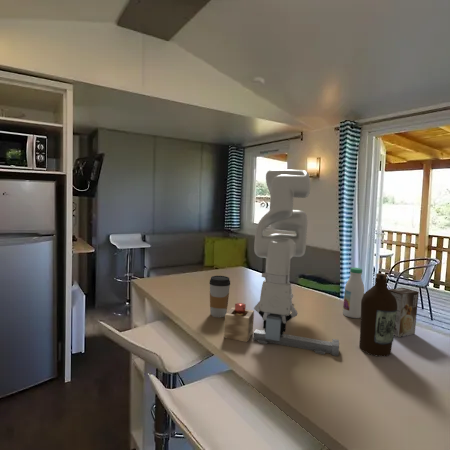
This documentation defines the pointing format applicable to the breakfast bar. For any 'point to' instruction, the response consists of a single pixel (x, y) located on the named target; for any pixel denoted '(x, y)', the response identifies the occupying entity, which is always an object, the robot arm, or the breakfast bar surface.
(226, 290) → the coffee cup
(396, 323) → the coffee box
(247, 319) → the small open wooden box
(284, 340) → the guide rail
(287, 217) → the robot arm
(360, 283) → the milk bottle
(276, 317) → the carriage
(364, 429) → the breakfast bar surface
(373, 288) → the olive oil
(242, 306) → the button
